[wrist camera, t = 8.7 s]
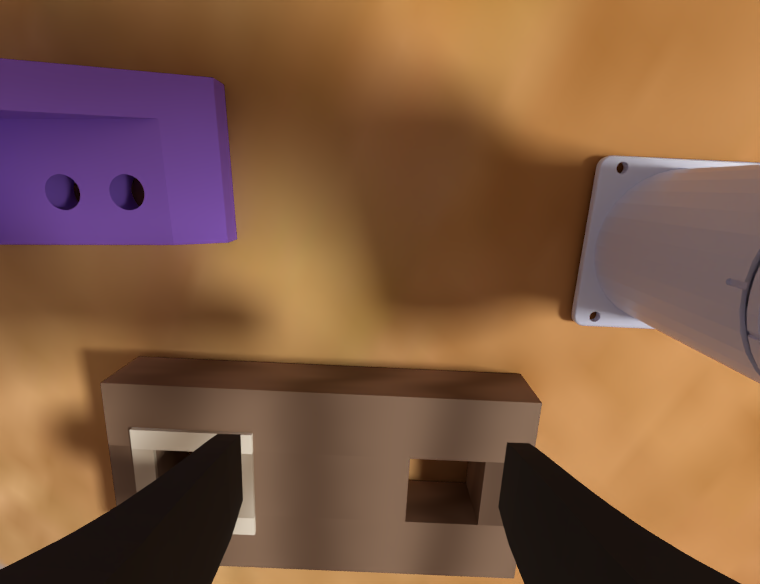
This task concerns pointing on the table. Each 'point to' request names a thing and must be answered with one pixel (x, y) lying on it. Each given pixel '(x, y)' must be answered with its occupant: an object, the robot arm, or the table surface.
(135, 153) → the bracket
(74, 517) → the table surface
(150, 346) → the table surface
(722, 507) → the table surface
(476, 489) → the board
